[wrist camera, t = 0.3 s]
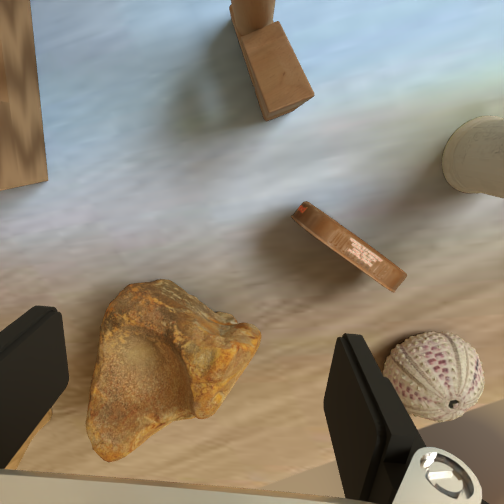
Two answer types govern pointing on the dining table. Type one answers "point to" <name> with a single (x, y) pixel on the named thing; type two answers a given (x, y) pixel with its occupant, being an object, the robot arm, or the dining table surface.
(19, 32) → the walnut slotted board
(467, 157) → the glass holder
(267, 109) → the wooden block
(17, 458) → the beer glass
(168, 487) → the robot arm
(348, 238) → the tin
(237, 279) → the dining table surface
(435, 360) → the sea urchin shell
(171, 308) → the rough brown rock
